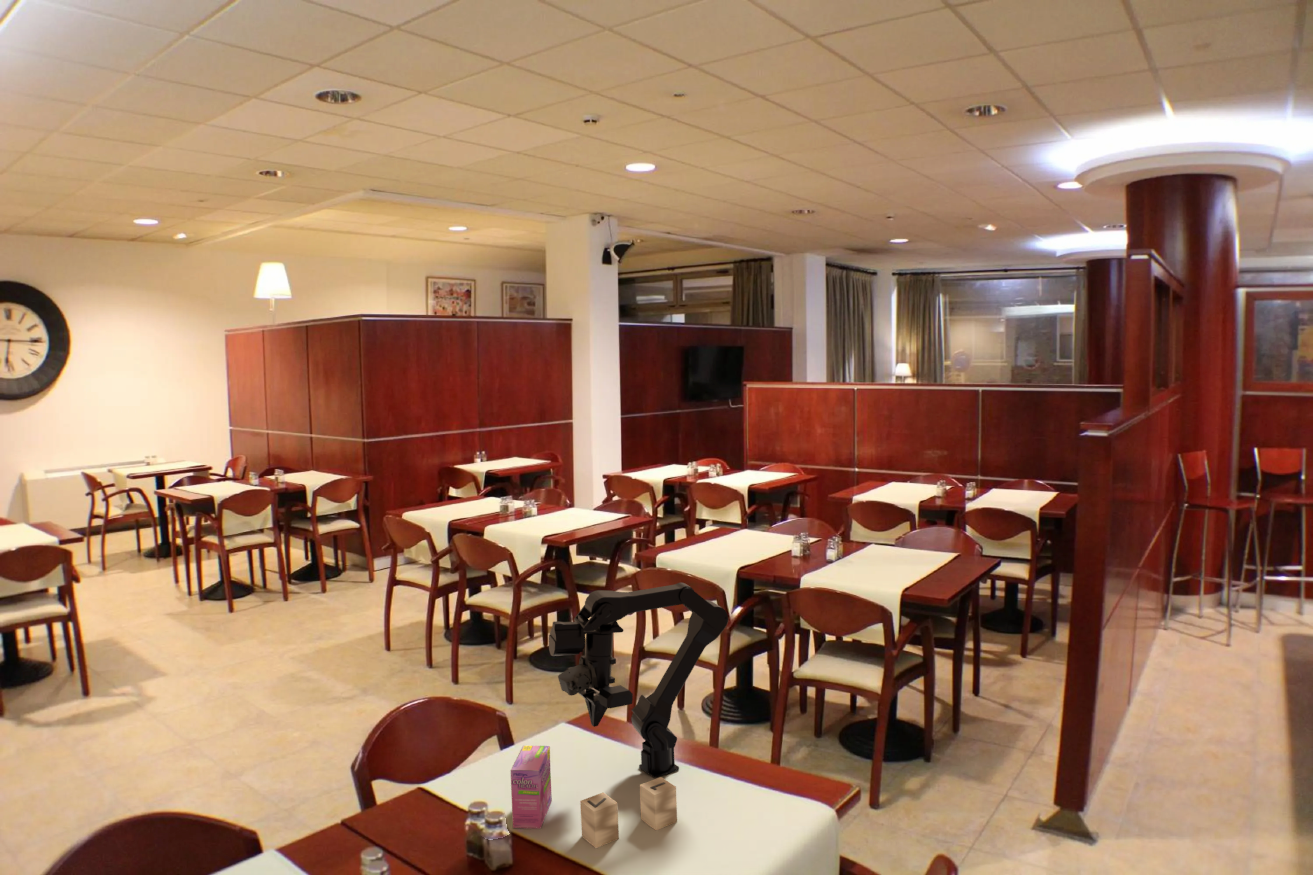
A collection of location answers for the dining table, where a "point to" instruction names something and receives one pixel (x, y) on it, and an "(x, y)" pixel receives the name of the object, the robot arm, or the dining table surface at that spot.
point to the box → (531, 787)
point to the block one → (658, 803)
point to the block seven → (599, 820)
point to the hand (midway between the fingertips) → (594, 725)
